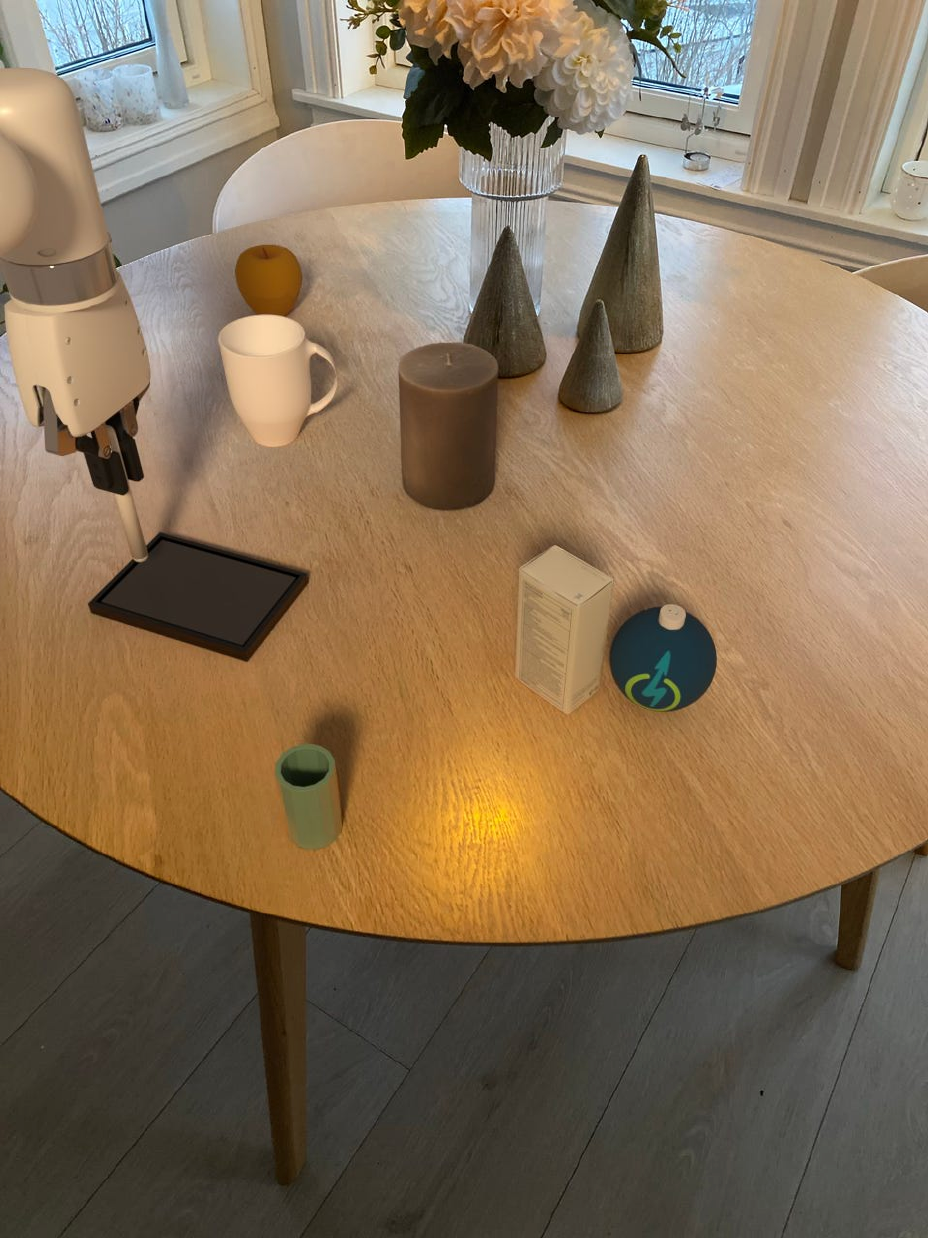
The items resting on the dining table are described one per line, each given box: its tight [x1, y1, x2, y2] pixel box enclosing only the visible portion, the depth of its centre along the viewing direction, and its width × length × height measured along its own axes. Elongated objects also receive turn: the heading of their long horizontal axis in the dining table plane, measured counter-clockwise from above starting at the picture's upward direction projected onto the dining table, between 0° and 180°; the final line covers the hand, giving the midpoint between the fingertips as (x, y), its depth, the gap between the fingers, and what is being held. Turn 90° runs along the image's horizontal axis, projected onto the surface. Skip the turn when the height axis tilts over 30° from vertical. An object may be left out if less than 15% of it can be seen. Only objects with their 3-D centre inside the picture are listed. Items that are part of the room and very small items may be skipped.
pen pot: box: [274, 743, 343, 851], centre depth 67 cm, size 4×4×7 cm
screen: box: [101, 540, 296, 647], centre depth 86 cm, size 14×9×1 cm, turn 69°
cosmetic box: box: [514, 544, 615, 716], centre depth 76 cm, size 6×4×12 cm
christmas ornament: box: [608, 603, 718, 713], centre depth 76 cm, size 8×8×10 cm
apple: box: [234, 244, 303, 317], centre depth 125 cm, size 8×8×9 cm
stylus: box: [105, 425, 148, 562], centre depth 82 cm, size 1×1×14 cm
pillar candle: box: [397, 341, 499, 511], centre depth 95 cm, size 10×10×15 cm
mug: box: [217, 314, 338, 448], centre depth 103 cm, size 12×9×12 cm
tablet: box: [87, 531, 309, 663], centre depth 87 cm, size 16×11×1 cm
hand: (119, 482), depth 81 cm, fingers closed on stylus, 1 cm apart
